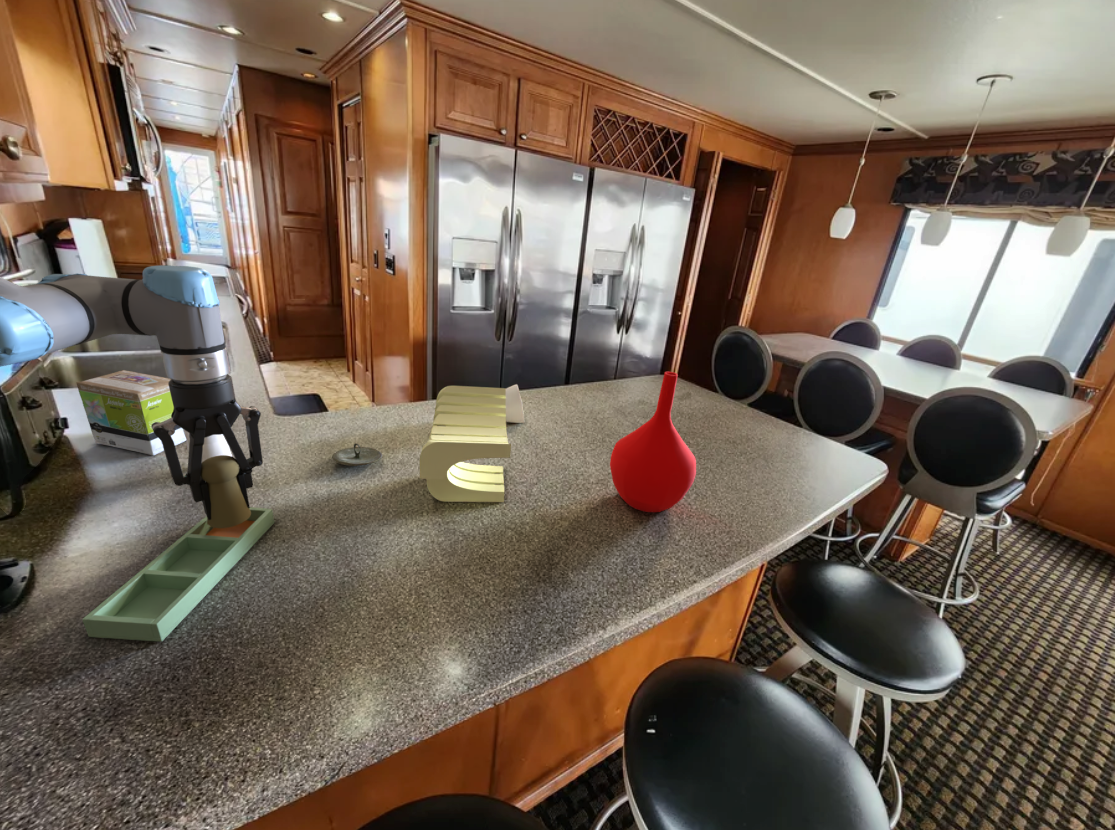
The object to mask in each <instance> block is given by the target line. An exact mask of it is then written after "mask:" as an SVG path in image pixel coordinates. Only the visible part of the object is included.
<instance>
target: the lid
mask: <svg viewBox="0 0 1115 830" xmlns="http://www.w3.org/2000/svg"><path fill="white" fill-rule="evenodd" d="M382 458H383V453H382V452H381V451H380V450H378V449H376V448H372V447H369V446H368V447H367V446H360V444H358V443H354V444H353V447H347V448H343V449H340V450H338V451H335V452H334V453H333V454H332V455H331V459H332V461H334V462H335V463H337V464H339V465H344V466H351V467H352V466H365V465H369V464H370V465H371V464H373V463H376V462H378V461H380V460H381V459H382Z"/></svg>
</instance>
